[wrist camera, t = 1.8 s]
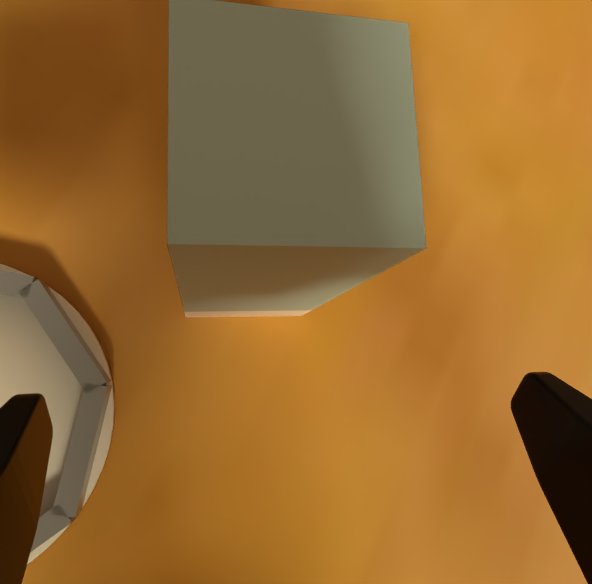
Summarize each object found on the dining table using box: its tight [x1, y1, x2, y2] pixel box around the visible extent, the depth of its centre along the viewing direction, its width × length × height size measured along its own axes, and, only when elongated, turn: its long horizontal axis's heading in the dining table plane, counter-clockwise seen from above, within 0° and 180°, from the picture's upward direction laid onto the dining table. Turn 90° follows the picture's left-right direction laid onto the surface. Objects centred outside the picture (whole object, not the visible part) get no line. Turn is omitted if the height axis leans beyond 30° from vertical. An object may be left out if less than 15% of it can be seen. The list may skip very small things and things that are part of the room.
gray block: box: [167, 0, 426, 317], centre depth 15 cm, size 5×5×12 cm
